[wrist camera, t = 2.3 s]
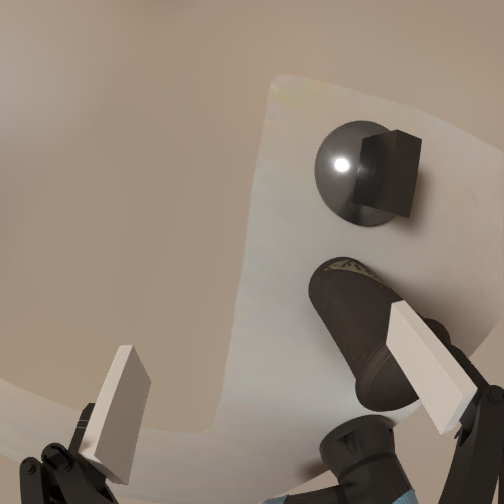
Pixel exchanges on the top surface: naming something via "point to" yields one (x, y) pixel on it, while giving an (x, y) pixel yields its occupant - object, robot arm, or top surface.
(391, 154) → the lid
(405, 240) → the top surface
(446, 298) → the top surface
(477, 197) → the top surface
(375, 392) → the container
